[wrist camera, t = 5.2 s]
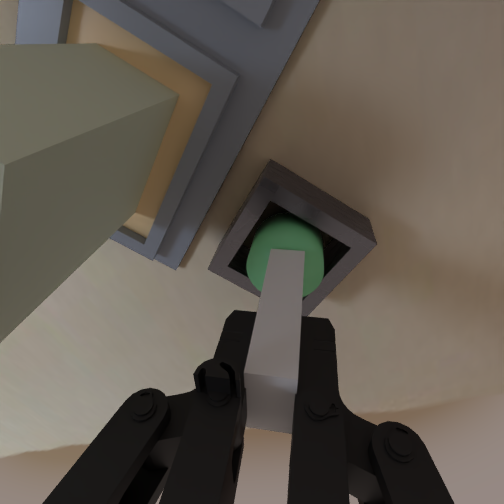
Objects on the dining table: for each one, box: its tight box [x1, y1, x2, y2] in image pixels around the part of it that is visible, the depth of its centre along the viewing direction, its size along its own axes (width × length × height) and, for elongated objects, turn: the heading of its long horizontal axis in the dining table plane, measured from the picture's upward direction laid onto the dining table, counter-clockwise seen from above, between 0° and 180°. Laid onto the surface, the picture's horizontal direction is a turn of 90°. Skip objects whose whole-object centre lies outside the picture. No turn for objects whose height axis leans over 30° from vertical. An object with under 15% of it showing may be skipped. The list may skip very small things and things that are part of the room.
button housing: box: [208, 159, 377, 316], centre depth 17 cm, size 6×6×2 cm
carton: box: [0, 43, 179, 342], centre depth 12 cm, size 7×4×10 cm, turn 151°
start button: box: [246, 213, 324, 297], centre depth 16 cm, size 4×4×2 cm
